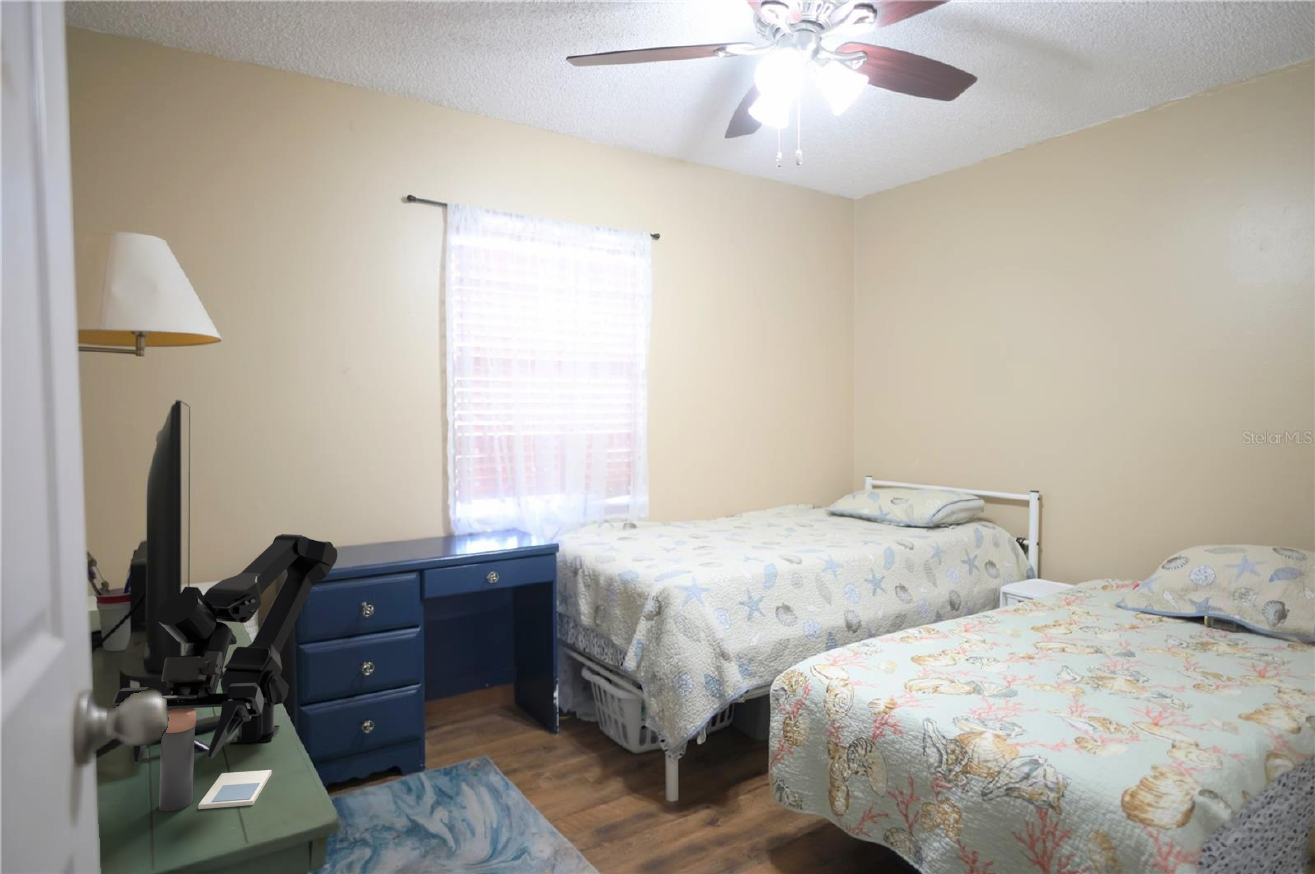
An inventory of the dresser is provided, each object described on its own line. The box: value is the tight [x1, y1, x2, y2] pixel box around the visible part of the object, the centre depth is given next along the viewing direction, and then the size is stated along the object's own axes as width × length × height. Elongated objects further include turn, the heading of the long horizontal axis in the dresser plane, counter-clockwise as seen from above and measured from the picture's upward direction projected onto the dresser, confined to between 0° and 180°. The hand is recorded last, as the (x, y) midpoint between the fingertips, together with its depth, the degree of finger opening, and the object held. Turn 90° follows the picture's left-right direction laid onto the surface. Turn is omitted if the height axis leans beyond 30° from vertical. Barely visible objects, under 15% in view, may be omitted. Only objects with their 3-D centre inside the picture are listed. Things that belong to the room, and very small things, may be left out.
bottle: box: [158, 708, 197, 813], centre depth 106 cm, size 4×4×13 cm
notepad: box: [197, 769, 273, 810], centre depth 111 cm, size 10×7×1 cm
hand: (173, 760), depth 105 cm, fingers open, 9 cm apart
